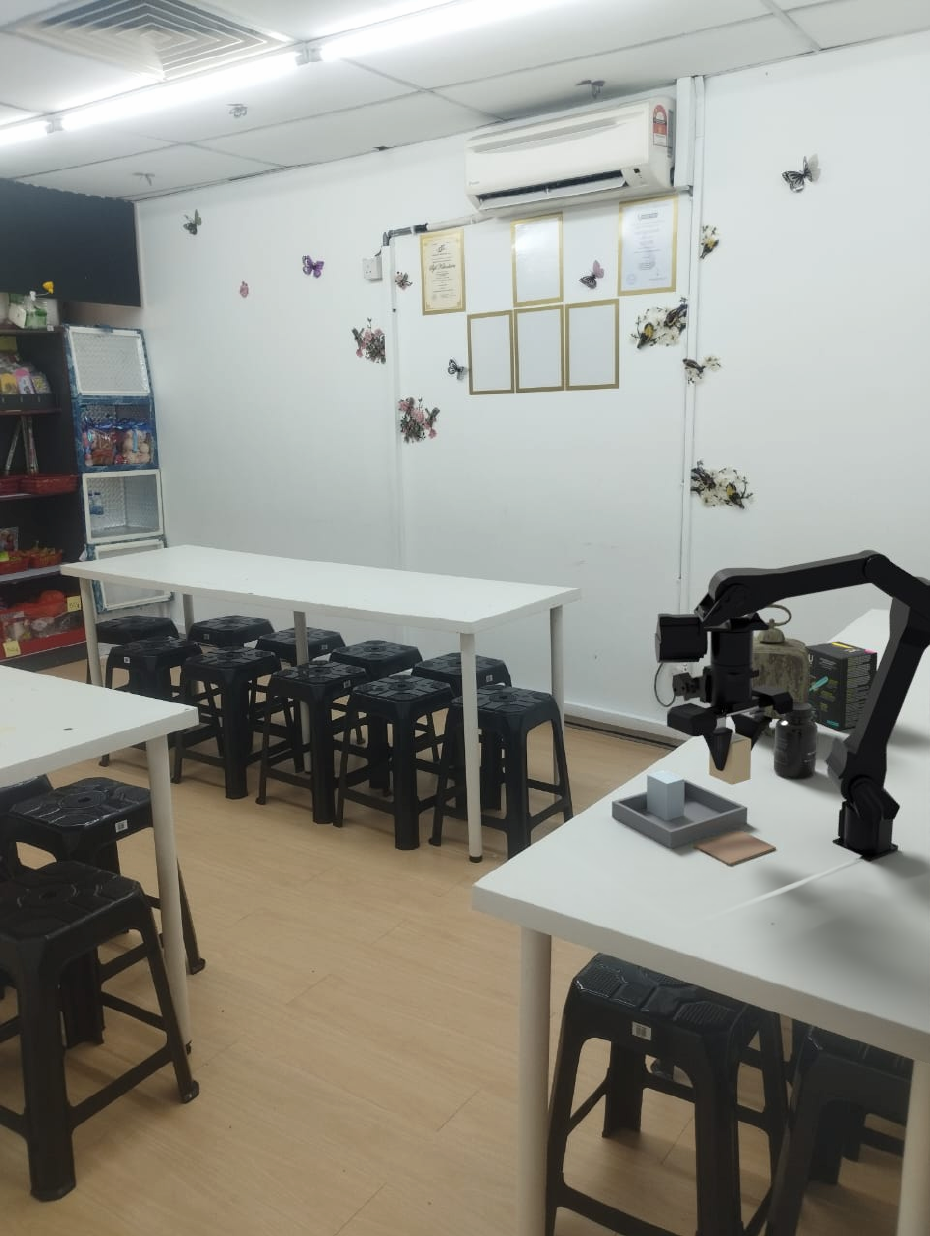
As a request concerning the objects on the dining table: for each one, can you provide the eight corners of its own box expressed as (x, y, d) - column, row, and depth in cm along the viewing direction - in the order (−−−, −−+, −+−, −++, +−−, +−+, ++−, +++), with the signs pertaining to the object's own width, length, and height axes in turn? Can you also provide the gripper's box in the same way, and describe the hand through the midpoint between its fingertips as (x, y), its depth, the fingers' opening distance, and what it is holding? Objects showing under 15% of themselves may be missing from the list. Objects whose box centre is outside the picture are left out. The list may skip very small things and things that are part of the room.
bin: (746, 825, 146) (747, 807, 146) (670, 851, 139) (670, 832, 138) (685, 797, 158) (686, 779, 157) (612, 819, 150) (612, 801, 150)
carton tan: (750, 779, 137) (751, 738, 135) (731, 784, 135) (732, 743, 134) (727, 769, 140) (728, 729, 139) (709, 774, 139) (709, 734, 137)
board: (775, 852, 138) (775, 847, 138) (729, 869, 133) (729, 863, 133) (738, 834, 144) (738, 829, 144) (693, 849, 139) (693, 844, 139)
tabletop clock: (806, 726, 189) (812, 601, 183) (807, 742, 180) (814, 611, 175) (729, 721, 193) (733, 598, 187) (727, 736, 185) (731, 608, 179)
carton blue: (683, 815, 150) (684, 778, 148) (666, 820, 148) (667, 783, 147) (663, 805, 154) (664, 769, 152) (646, 810, 152) (647, 774, 150)
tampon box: (875, 724, 189) (880, 651, 185) (837, 732, 185) (841, 658, 182) (835, 709, 198) (838, 639, 195) (798, 715, 195) (801, 645, 192)
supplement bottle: (818, 781, 162) (821, 712, 160) (775, 779, 164) (778, 711, 161) (812, 765, 169) (815, 700, 166) (771, 764, 170) (774, 698, 168)
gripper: (739, 639, 145) (737, 738, 149) (640, 660, 136) (641, 764, 140) (797, 654, 136) (794, 759, 139) (695, 677, 127) (694, 789, 130)
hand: (730, 767), depth 137 cm, fingers closed on carton tan, 3 cm apart
